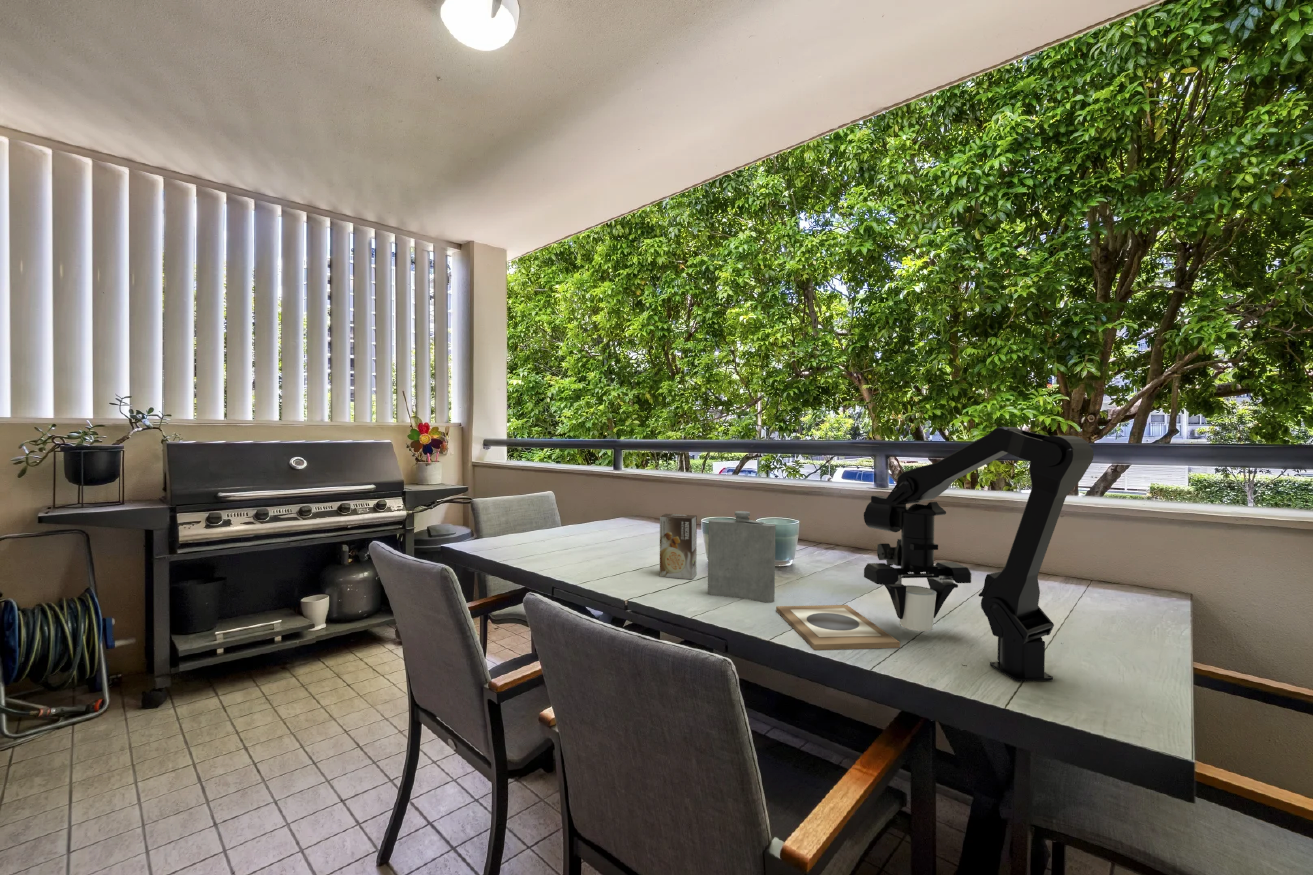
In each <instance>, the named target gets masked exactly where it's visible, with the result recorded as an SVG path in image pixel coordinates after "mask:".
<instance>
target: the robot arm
mask: <svg viewBox="0 0 1313 875" xmlns="http://www.w3.org/2000/svg"><path fill="white" fill-rule="evenodd" d="M1007 454H1010V455H1012V456H1014V457H1017V458H1019V459H1022V460H1025V461H1028V462H1029V467H1028V471H1029V472H1028V473H1029V477H1030V483H1031V489H1030V493H1029V496H1028V498H1027V502H1026V504H1025V508H1024V511H1023V513H1022V515H1021V519H1020V522H1019V524H1018V527H1017V530H1016V533H1015V536H1014V539H1013V541H1012V545H1011V548H1010V551H1009V553H1008V557H1007V559H1006V563H1005V564H1004V567H1003V569H1001V571H996V572H992V573H991V572H990V573H987V574H986V576H985V578H984V583H983V587H982V590H981V592H980V593H979V594H978V597H980V598H981V597H982V598H981V601H980V608H981V610H982V611H983V613H984V615H985V617H986V618H987V620H988V625H989V627H990V630H991V633H992V636H994V637H997V661H990V662H989V666H990V667H991V668H994V669H995V670H997V672H1000V673H1001V674H1004V676H1006V677H1008V678H1010V679H1011V680H1013V681H1014V682H1020V683H1021V682H1039V681H1041V682H1043V681H1044V682H1045V681H1046V682H1047V681H1054V676H1053V675H1050V673H1048V672H1046V671H1045V665H1046V664H1045V662H1046V660H1045V659H1046V658H1045V657H1046V641H1044V640H1043V637H1045V636H1050V635H1051V633H1052V631H1053V629H1054V627H1055V623H1054V622H1052V619H1050V617H1048V615H1047V614H1046V613H1045V612H1044V611H1043V609H1041V607H1040V606H1039V603H1040V597H1041V596H1040V595H1041V591H1040V590H1041V589H1040V584H1039V578H1038V577H1039V573H1040V569H1041V567H1042V564H1043V562H1044V559H1045V556H1046V553H1047V550H1048V548H1049V544H1050V543H1051V540H1052V538H1053V534H1054V531H1055V529H1056V528H1055V527H1056V525H1057V523H1058V520H1059V517H1060V515H1061V512H1062V509H1063V506H1064V503H1065V501H1066V498H1067V496H1068V494H1069V493H1070V492H1071V491H1072V490H1073V489H1074V488H1075V487H1076V486H1077V485H1078V484H1079V482H1080V481H1082V479H1083V477H1084V475H1085V474H1086V473H1087V470H1088V469H1089V467H1090V465H1091V464H1092V463H1093V460H1094V449H1093V448H1092V446H1091V445H1090V444H1089V443H1088V441H1086V440H1085V439H1084V438H1082V437H1079V436H1075V435H1047V434H1041V433H1036V432H1032V431H1027V430H1023V429H1021V428H1018V427H1014V426H998V427H996V428H995V427H994V428H993V430H992V431H990V432H989V433H987V434H986V435H984V436H982V437H980V438H978V439H977V440H975V441H973V442H971V443H969V444H967V445H965V446H964V447H962V448H960V449H958V450H956V451H954V452H953V453H950V455H949V454H948V455H947V456H946V457H944V458H942V459H940V460H939V461H936V462H934V463H931V464H926V465H922V466H918V467H914V468H911V469H907V470H905V471H903V472H901V473H900V474H899V475H898V477H897V479H896V480H897V481H896V484H895V486H894V487H893V488H892V489H891V491H890V492H889V494H888V495H887V497H886V496H883V495H871V496H870V502H869V503H868V504H867V505H866V507H865V510H864V512H863V520H864V523H865V525H866V526H867V528H870V529H873V530H879V531H885V532H889V533H890V532H892V533H898V532H900V531H901V534H900V535H901V537H900V538H897V541H896V546H891V544H890V543H879V544H877V550H876V554H877V559H878V560H879V561H886V563H884V562H872V563H871V562H870V563H869V562H868V563H866V565H865V566H864V568H863V577H864V578H865V579H867V580H868V581H871V582H872V583H874V584H876V585H883V586H884V587H885V588H886V590H887V592H888V594H889V597H890V599H891V602H892V605H893V607H894V610H895V613H896V616H897V618H898V619H899V620H900V619H903V614H904V607H905V596H906V586H905V584H903V583H902V581H903V580H902V579H924V578H925V579H926V580H927V583H928V586H929V588H930V589H933V590H934V591H936V602H935V610H934V619H935V618H936V617H937V615H938V613H939V612H940V609H941V608H942V606H943V605H944V603H945V601H946V600H947V598H948V597H949V596H950V595H951V593H952V591H953V590H954V589H957V588H959V584H972V572H971V571H970V569H969V567H967V566H964V565H962V564H959V563H957V562H954V561H948V562H947V561H946V562H945V561H942V562H941V561H939V562H938V561H937V562H936V563H935V562H934V561H935V551H939V544H938V543H935V517H936V516H944V515H946V514H947V511H946V510H945V509H944V508H943V507H941V505H940V504H939V503H938V502H937V501H932V500H934V499H936V498H938V496H940V495H941V494H942V493H944V492H946V490H948V489H949V487H950V486H952V484H953V483H954V482H955V481H957V480H958V479H960V478H962V477H965V475H968V474H970V473H972V472H974V471H976V470H977V469H979V468H981V467H984V466H986V465H988V464H989V463H991V462H993V461H995V460H997V459H1000V458H1001V457H1003V456H1006V455H1007ZM922 501H930V502H928V503H927V504H923V503H922V504H921V503H920V502H922ZM911 504H912V505H911ZM907 505H910V506H907ZM893 566H896V567H893Z"/></svg>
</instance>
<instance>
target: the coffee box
mask: <svg viewBox="0 0 1313 875" xmlns="http://www.w3.org/2000/svg"><path fill="white" fill-rule="evenodd" d="M697 518H698V516H697V515H694V514H678V513H677V514H676V513H664V514H662V515H661V516H659V577H660V578H671V579H672V578H673V579H674V578H675V579H686V580H693V579H694V578H695V577H696V576H697V574H698V573H697V569H698V568H697V554H698V553H697V547H698V546H697V538H698V537H697V535H698V533H697V532H698V531H697V523H698V522H697V521H698V520H697Z"/></svg>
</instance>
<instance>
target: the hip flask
mask: <svg viewBox="0 0 1313 875" xmlns="http://www.w3.org/2000/svg"><path fill="white" fill-rule="evenodd" d="M734 516H735V520H730V519H729V520H728V519H715V518H714V519H708V537H707V538H708V543H707V550H708V552H707V560H708V561H707V595H709V596H715V597H726V598H728V597H729V598H733V599H734V598H736V599H742V600H749V601H756V602H761V603H767V604H770V603H774V602H775V585H776V584H775V580H776V576H775V575H776V528H777V527H776V526H777V525H776V524H775V523H767V522H764V521H758V520H752V519H750V516H751V512H750V511H746V510H745V511H744V510H737V511H734Z"/></svg>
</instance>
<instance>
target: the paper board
mask: <svg viewBox="0 0 1313 875" xmlns="http://www.w3.org/2000/svg"><path fill="white" fill-rule="evenodd" d="M775 612H777V614H779V615H780V616H781V618H783V620H785V622H786V623H787V624H789V626H790V627H792V629H793V630H794V631H795V632H796V633H797V634H798V635H799V636H800V637H801V638H802V639H803V640H804V641H805V642H806V643H807V644H808V645H809V646H810V647H811V648H812V649H813V651H824V650H825V651H826V650H827V651H828V650H829V651H830V650H857V649H858V650H861V649H865V650H866V649H892V648H893V649H895V648H899V649H900V648H901V642H900V641H899V640H897V638H895V637H894V636H892V635H891V634H890V633H888V632H886V631H885V630H883V629H882V628H881V627H880V626H878V625H877V624H875V623H873V622H872V621H871V620H870V619H868V618H867V617H865V615H864V616H863V615H862V614H860V613H859V612H858V611H857V610H855V609H854V608H852V607H851V606H849V605H848V604H829V605H828V604H827V605H825V604H823V605H818V604H817V605H777V606H775Z"/></svg>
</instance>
